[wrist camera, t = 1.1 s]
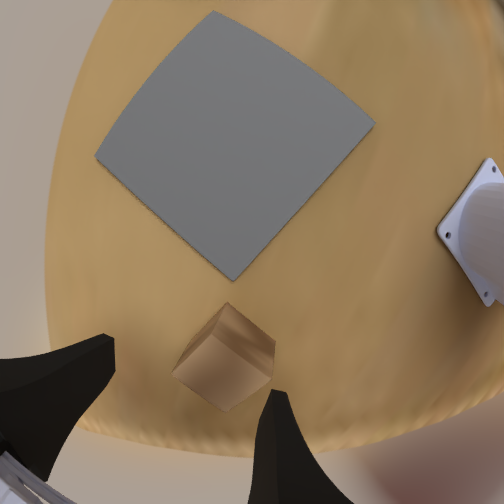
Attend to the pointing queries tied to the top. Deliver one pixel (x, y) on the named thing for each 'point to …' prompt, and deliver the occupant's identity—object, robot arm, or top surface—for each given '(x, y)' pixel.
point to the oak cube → (227, 359)
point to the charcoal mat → (230, 140)
